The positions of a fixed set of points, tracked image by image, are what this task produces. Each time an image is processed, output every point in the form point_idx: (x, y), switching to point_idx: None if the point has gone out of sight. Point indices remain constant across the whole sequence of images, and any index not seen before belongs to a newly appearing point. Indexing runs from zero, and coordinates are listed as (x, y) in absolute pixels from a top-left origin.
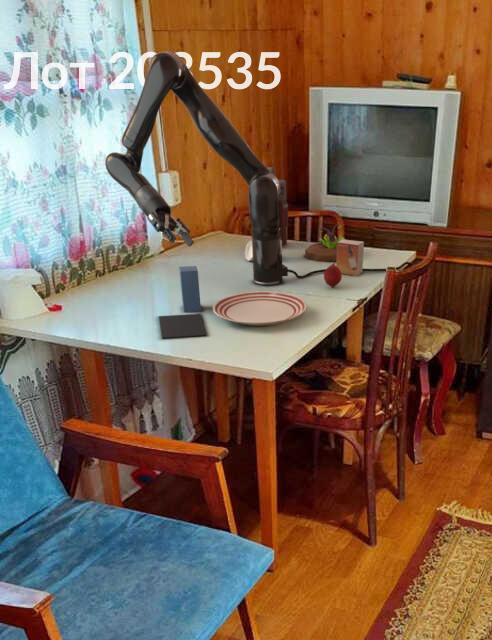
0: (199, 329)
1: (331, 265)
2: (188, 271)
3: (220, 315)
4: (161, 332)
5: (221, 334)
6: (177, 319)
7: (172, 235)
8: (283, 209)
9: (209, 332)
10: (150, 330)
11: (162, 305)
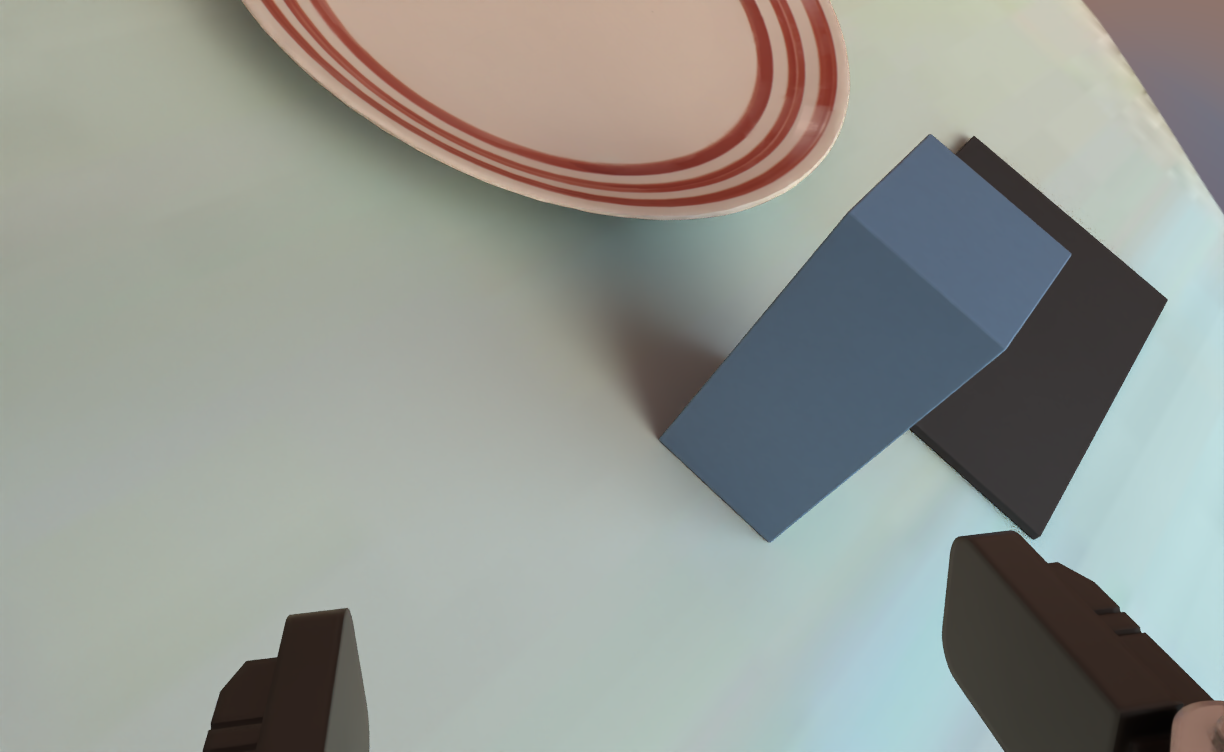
0: None
1: None
2: (1002, 200)
3: (832, 107)
4: (1143, 341)
5: (898, 91)
6: (974, 385)
7: (1051, 580)
8: None
9: None
10: (1166, 433)
11: (868, 735)
